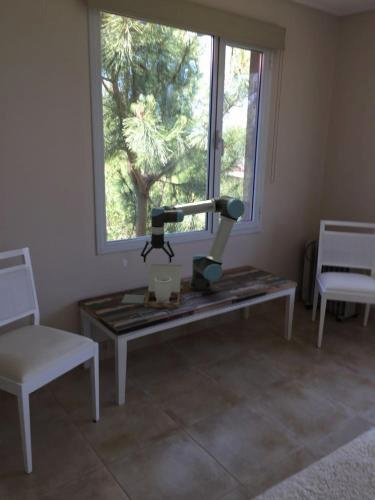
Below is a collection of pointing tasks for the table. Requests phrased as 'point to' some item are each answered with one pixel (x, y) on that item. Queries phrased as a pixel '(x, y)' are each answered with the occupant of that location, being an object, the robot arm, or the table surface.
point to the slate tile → (133, 299)
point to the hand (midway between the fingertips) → (157, 267)
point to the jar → (162, 289)
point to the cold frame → (162, 304)
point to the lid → (163, 270)
